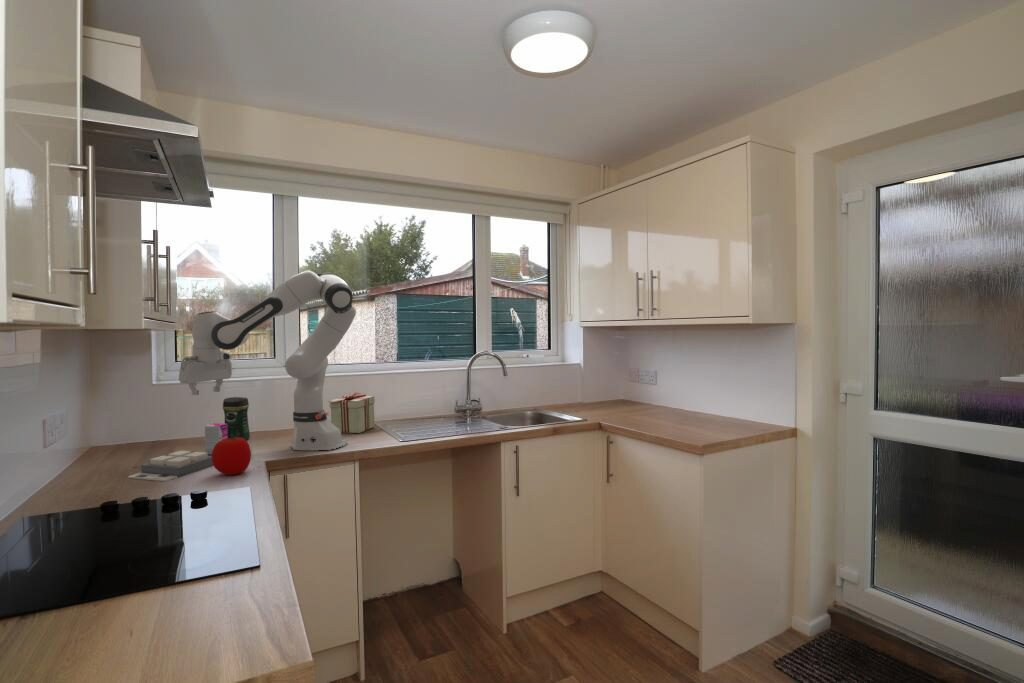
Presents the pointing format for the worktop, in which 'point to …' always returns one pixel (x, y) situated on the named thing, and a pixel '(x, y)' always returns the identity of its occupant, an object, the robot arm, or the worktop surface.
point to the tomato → (231, 455)
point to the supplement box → (214, 435)
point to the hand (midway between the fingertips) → (206, 393)
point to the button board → (170, 470)
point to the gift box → (353, 413)
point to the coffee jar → (236, 417)
